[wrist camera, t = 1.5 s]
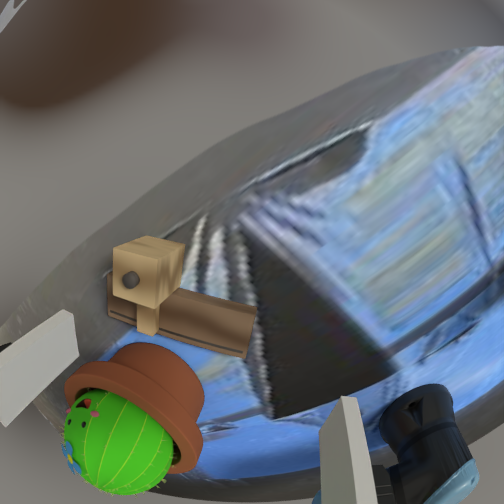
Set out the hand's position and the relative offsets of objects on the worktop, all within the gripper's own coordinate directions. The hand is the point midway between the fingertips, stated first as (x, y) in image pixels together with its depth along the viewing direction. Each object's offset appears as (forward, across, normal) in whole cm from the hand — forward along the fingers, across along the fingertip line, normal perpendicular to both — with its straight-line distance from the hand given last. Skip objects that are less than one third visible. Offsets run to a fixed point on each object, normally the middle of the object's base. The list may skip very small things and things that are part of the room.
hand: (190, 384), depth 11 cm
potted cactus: (+24, +11, +27) cm, 38 cm away
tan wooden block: (+24, +12, +8) cm, 28 cm away
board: (+24, +9, +11) cm, 28 cm away
